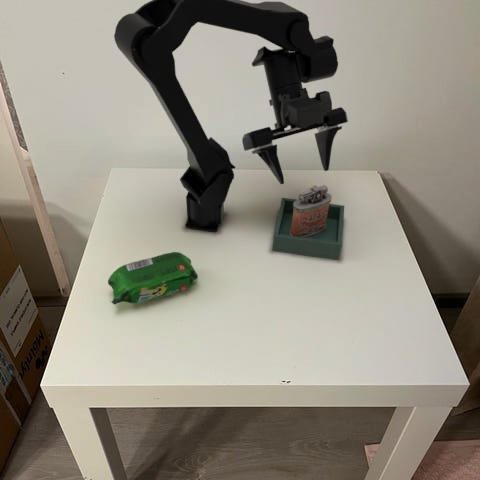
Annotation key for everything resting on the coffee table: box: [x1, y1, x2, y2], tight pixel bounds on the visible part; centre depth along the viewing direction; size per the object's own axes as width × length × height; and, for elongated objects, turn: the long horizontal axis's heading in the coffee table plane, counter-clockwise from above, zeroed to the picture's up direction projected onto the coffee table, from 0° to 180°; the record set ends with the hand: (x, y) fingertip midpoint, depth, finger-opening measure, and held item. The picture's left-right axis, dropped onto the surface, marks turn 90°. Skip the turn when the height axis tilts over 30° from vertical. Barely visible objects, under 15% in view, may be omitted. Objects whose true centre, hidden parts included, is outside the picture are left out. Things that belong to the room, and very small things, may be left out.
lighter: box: [289, 184, 333, 238], centre depth 92 cm, size 8×3×10 cm, turn 120°
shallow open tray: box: [271, 197, 345, 261], centre depth 95 cm, size 13×13×4 cm
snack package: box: [107, 251, 199, 305], centre depth 83 cm, size 7×16×5 cm, turn 115°
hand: (304, 177), depth 90 cm, fingers open, 9 cm apart
